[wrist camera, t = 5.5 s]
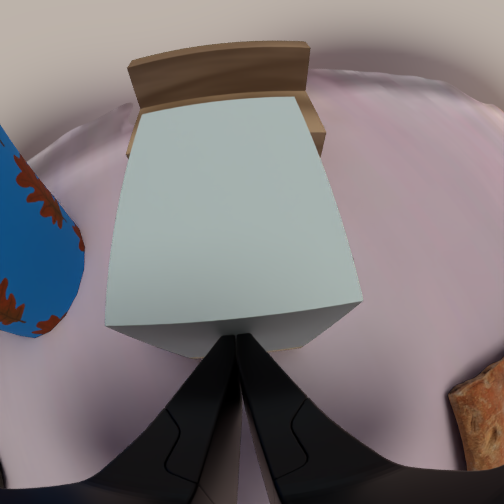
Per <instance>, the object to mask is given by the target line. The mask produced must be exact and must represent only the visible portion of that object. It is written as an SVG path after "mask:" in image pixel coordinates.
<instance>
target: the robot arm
mask: <svg viewBox="0 0 504 504" xmlns="http://www.w3.org/2000/svg"><path fill="white" fill-rule="evenodd" d="M242 395H243V401H244V406H245V411H246V415H247V419H248V423H249V427H250V431H251V435H252V439H253V443H254V447H255V450H256V454H257V458H258V462H259V465H260V469H261V473H262V476H263V480H264V483H265V487H266V490H267V494H268V497H269V501H270V504H504V465H502V466H499V467H496V468H493V469H488V470H480V471H454V470H435V469H424V468H415V467H408V466H403V465H400V464H397V463H394V462H392V461H390V460H388V459H386V458H384V457H383V456H381V455H380V454H378V453H377V452H375V451H374V450H372V449H371V448H369V447H368V446H366V445H365V444H363V443H362V442H360V441H359V440H358V439H356V438H355V437H353V436H352V435H351V434H349V433H348V432H347V431H345V430H344V429H343V428H341V427H340V426H339V425H337V424H336V423H335V422H334V421H332V420H331V419H330V418H329V417H328V416H327V415H326V414H325V413H324V412H322V411H321V410H320V409H319V408H318V407H317V406H316V405H315V404H314V403H313V402H312V400H311V399H310V398H307V395H306V394H305V393H304V392H303V391H302V390H301V389H300V388H299V387H298V386H297V385H296V384H295V383H294V381H293V380H292V379H291V378H290V377H289V376H288V375H287V374H286V373H285V372H284V371H283V369H282V368H281V367H280V366H279V365H278V364H277V363H276V362H275V361H274V359H273V358H272V357H271V356H270V355H269V354H268V353H267V351H266V350H265V349H264V348H263V347H262V346H261V345H260V343H259V342H258V341H257V340H256V339H255V338H254V337H253V335H252V334H251V333H243V334H237V336H236V337H235V335H222V336H221V337H220V338H219V339H218V340H217V342H216V343H215V344H214V346H213V347H212V348H211V349H210V351H209V352H208V353H207V355H206V356H205V357H204V358H203V360H202V361H201V362H200V364H199V365H198V366H197V367H196V369H195V370H194V371H193V372H192V374H191V375H190V376H189V378H188V379H187V380H186V381H185V383H184V384H183V385H182V386H181V388H180V389H179V390H178V391H177V393H176V394H175V395H174V396H173V398H172V399H171V400H170V401H169V403H168V404H167V405H166V406H165V408H166V409H165V408H164V409H163V410H162V411H161V412H160V413H159V415H158V416H157V417H156V418H155V419H154V421H153V422H152V423H151V424H150V425H149V426H148V427H147V429H146V430H145V431H144V432H143V433H142V434H141V435H140V436H139V437H138V438H137V439H136V440H135V441H133V442H132V443H131V444H130V445H129V446H128V447H127V448H126V449H125V450H124V451H123V452H121V453H120V454H119V455H118V456H117V457H116V458H115V459H114V460H112V461H111V462H110V463H109V464H108V465H107V466H106V467H104V468H103V469H102V470H101V471H100V472H98V473H97V474H95V475H94V476H92V477H91V478H88V479H86V480H84V481H81V482H77V483H72V484H65V485H58V486H50V487H40V488H26V489H4V488H0V504H237V490H238V474H239V457H240V440H241V424H242Z"/></svg>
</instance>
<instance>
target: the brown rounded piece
mask: <svg viewBox="0 0 504 504" xmlns="http://www.w3.org/2000/svg"><path fill="white" fill-rule="evenodd" d="M448 397H449V400H450V403H451V406H452V408H453V411H454V414H455V417H456V421H457V424H458V427H459V431H460V435H461V439H462V442H463V447H464V453H465V459H466V463H467V471H480V470H488V469H493V468H496V467H499V466H502V465H504V357H503V358H502V359H501V360H500V361H498V362H495V363H492V364H491V365H489V366H488V367H486V368H485V369H484V370H483V371H482V372H481V373H480V374H479V375H478V376H476V377H475V378H474V379H471V380H467V381H465V382H464V383H462V384H459V385H456V386H455V387H453V389H452V390H451V392H450V393H449V394H448Z"/></svg>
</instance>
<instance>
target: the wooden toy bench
mask: <svg viewBox="0 0 504 504" xmlns="http://www.w3.org/2000/svg"><path fill="white" fill-rule="evenodd" d="M309 56H310V47H309V46H308V45H307V43H306V42H303V41H249V42H248V41H247V42H232V43H221V44H212V45H204V46H197V47H191V48H185V49H180V50H174V51H169V52H164V53H160V54H155V55H151V56H147V57H143V58H139V59H136V60H132V61H131V63H130V65H129V66H128V67H127V69H128V72H129V75H130V79H131V82H132V85H133V88H134V91H135V94H136V97H137V100H138V103H139V106H140V112H139V115H138V117H137V120H136V123H135V126H134V129H133V132H132V135H131V139H130V142H129V145H128V149H127V152H126V155H127V158H128V160H129V156H130V153H131V149H132V145H133V142H134V138H135V135H136V132H137V128H138V125H139V122H140V119H141V116H142V114H146V113H151V112H155V111H160V110H165V109H171V108H176V107H182V106H188V105H194V104H201V103H208V102H216V101H225V100H236V99H248V98H264V97H295V99H296V102H297V104H298V106H299V108H300V110H301V113H302V115H303V117H304V120H305V122H306V124H307V127H308V129H309V132H310V134H311V136H312V139H313V141H314V144H315V146H316V149H317V151H318V154H319V157H321V153H322V149H323V144H324V140H325V135H326V131H325V129H324V127H323V125H322V123H321V121H320V118H319V116H318V114H317V112H316V110H315V108H314V106H313V105H312V103H311V101H310V99H309V97H308V95H307V93H306V91H305V90H306V82H307V74H308V65H309Z"/></svg>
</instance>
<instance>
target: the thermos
mask: <svg viewBox="0 0 504 504" xmlns="http://www.w3.org/2000/svg"><path fill="white" fill-rule="evenodd" d="M84 249H85V246H84V243H83V240H82V236H81V233H80V230H79V228H78V227H77V226H76V225H75V223H74V222H73V221H72V220H71V218H70V217H69V216H68V215H67V213H66V212H65V211H64V209H63V208H62V207H61V205H60V204H59V203H58V201H57V200H56V199H55V198H54V196H53V195H52V194H51V193H50V192H49V190H48V189H47V188H46V187H45V185H44V184H43V183H42V182H41V181H40V179H39V178H38V177H37V175H36V174H35V173H34V172H33V170H32V169H31V168H30V166H29V165H28V164H27V162H26V161H25V160H24V159H23V157H22V156H21V154H20V153H19V152H18V150H17V149H16V147H15V146H14V145H13V143H12V142H11V140H10V139H9V137H8V136H7V134H6V133H5V131H4V130H3V128H2V127H1V125H0V330H2V331H6V332H9V333H12V334H16V335H20V336H25V337H33V338H36V337H38V336H40V335H43V334H45V333H47V332H49V331H51V330H52V329H53V328H54V327H55V326H56V325H57V324H58V323H59V322H60V321H61V319H62V318H63V317H64V316H65V315H66V313H67V311H68V309H69V308H70V306H71V304H72V302H73V300H74V298H75V296H76V295H77V292H78V288H79V285H80V281H81V277H82V274H83V270H84Z"/></svg>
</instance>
